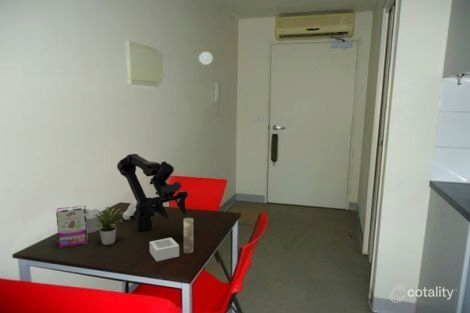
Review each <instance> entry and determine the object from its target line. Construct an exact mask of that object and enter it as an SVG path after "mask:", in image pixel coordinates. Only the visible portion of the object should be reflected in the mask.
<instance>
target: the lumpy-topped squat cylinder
mask: <svg viewBox="0 0 470 313" xmlns="http://www.w3.org/2000/svg"><path fill="white" fill-rule="evenodd" d="M98 211H99V209H98V208H94V209H92V210H91V209H89V208H87V209H86V221H87V234H89V233H95V232H97V231H99V229H100V228H102V224H101V223H100V222H98V221H95V219H99V218H98V217H97V216H95V215H98V216H100V217H101V215H100V213H99V212H98ZM100 212H101V213H103V212H102V211H100ZM96 213H97V214H96ZM92 215H93V216H92ZM103 215H104V216H105V214H104V213H103ZM101 218H102V217H101ZM99 220H100V219H99ZM97 224H101V225H100V227H97V226H96V225H97Z"/></svg>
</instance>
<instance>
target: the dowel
mask: <svg viewBox="0 0 470 313" xmlns="http://www.w3.org/2000/svg"><path fill="white" fill-rule="evenodd" d="M183 253H184V254H192V253H194V218H192V217H185V218H183Z"/></svg>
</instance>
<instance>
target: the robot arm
mask: <svg viewBox="0 0 470 313" xmlns="http://www.w3.org/2000/svg"><path fill="white" fill-rule="evenodd" d="M116 167H117V170H118V172H119V173H120V175H121V176H123V178H125V179H126V180H127V183H128V186H129V187H130V189H131V191H132V194H133V196H134V199H135V201H137V203H136V211H135V212H134V213H133V218H134V219H135V220H137V232H138V233H139V232H150V231H151V232H152V229H153V219H152V217H155V215H156V213H157V214H159V215H160V216H161V217H163V218H164V219H166V220H169V216H168V215H169V214H168V213H167V211H166V209H165V207H164V204H166V203H169V202H174V201H175V202H176V206H177V207H178V208H179V210H180V211H181V213H182V214H183V215H186V213H187V210H186V199H187V198H188V197H189V193H188V190H182V191H180V189H181V188H182V184H181V183H180V181H175V182H173V183H172V184H169V183H167V181H168V180H169V179H170V177H171V176H172V174H173V173H174V170H175V169H174V166H172V164H170V163H167V161H161V163H159V162H156V161H149V160H147V159H145V158H144V157H141V155H139V154H137V153H130V154H127V155H126V156H125V157H124V158H122V159H120V160H119V161H118V162H117V166H116ZM137 168H139V169H141V170H142V173H143V174H144V175H145V176H146V177H152V178H150V181H149V185H151V186H153V187H154V189H155V195H156V197H147V196H146V194H145V191H144V189H143V186H142V185H141V183H140V181H139V178H138V176H137V174H136V171H137ZM177 192H178V193H177ZM175 194H176V195H175ZM157 195H158V196H157Z"/></svg>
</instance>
